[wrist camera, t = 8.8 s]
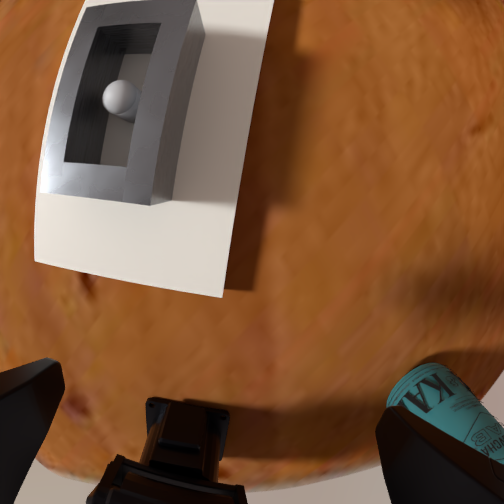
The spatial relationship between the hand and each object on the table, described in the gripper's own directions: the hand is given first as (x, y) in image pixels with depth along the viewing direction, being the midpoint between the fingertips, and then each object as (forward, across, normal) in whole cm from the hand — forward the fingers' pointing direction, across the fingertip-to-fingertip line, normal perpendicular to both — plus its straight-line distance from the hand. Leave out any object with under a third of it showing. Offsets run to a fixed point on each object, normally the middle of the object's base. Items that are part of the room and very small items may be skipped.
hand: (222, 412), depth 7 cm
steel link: (+10, +7, -9) cm, 16 cm away
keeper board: (+12, +7, -9) cm, 16 cm away
